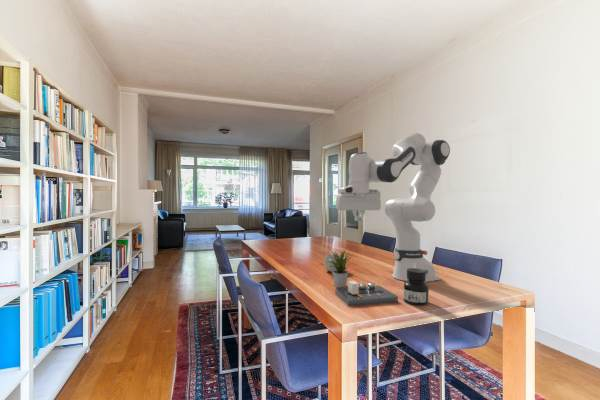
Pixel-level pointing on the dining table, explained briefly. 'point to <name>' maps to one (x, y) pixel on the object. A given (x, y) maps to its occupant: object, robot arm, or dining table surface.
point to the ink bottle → (416, 287)
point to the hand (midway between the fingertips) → (358, 220)
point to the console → (366, 295)
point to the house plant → (339, 269)
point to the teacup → (328, 258)
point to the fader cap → (353, 287)
